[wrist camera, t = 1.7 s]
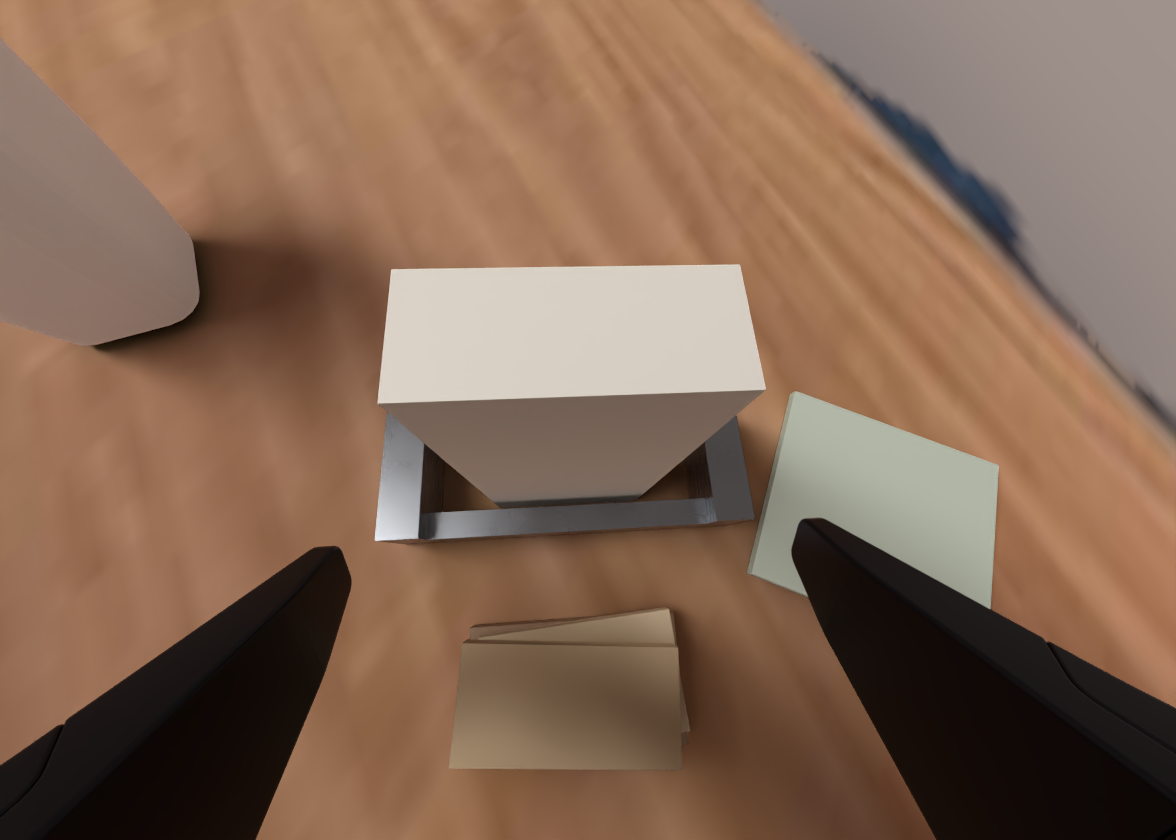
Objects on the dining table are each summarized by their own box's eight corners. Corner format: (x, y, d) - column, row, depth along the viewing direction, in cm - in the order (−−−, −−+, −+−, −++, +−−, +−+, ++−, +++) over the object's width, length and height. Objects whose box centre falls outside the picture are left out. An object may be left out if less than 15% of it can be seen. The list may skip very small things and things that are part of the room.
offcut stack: (683, 739, 16) (702, 768, 14) (464, 760, 16) (447, 793, 13) (668, 604, 18) (683, 610, 15) (468, 618, 17) (453, 627, 15)
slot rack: (726, 525, 19) (755, 518, 16) (404, 544, 18) (374, 540, 15) (709, 419, 20) (732, 396, 18) (412, 431, 19) (387, 409, 17)
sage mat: (976, 664, 18) (986, 667, 17) (746, 573, 18) (751, 573, 18) (988, 467, 20) (998, 465, 20) (789, 394, 21) (795, 390, 21)
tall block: (635, 500, 19) (765, 389, 7) (500, 508, 19) (377, 403, 6) (630, 449, 20) (739, 264, 7) (500, 455, 19) (391, 269, 7)
